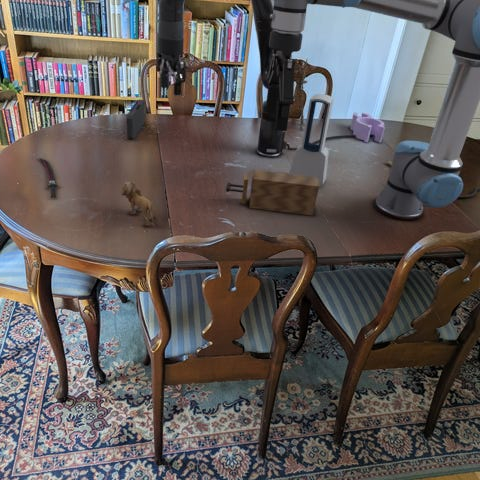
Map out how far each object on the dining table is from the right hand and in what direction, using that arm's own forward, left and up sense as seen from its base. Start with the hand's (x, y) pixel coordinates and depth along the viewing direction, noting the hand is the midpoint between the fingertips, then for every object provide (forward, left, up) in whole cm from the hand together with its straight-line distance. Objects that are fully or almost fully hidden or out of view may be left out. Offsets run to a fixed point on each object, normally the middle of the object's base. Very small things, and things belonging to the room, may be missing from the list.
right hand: (275, 120), depth 119 cm
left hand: (+26, -36, -4) cm, 45 cm away
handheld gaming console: (+40, -76, -33) cm, 92 cm away
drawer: (-3, -15, -32) cm, 35 cm away
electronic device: (-22, -32, -33) cm, 51 cm away
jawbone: (-67, -43, -33) cm, 86 cm away
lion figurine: (+35, -6, -33) cm, 48 cm away
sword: (+66, -30, -33) cm, 79 cm away
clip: (-63, -84, -33) cm, 110 cm away
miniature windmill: (-31, -91, -33) cm, 101 cm away
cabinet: (-9, -13, -33) cm, 36 cm away
